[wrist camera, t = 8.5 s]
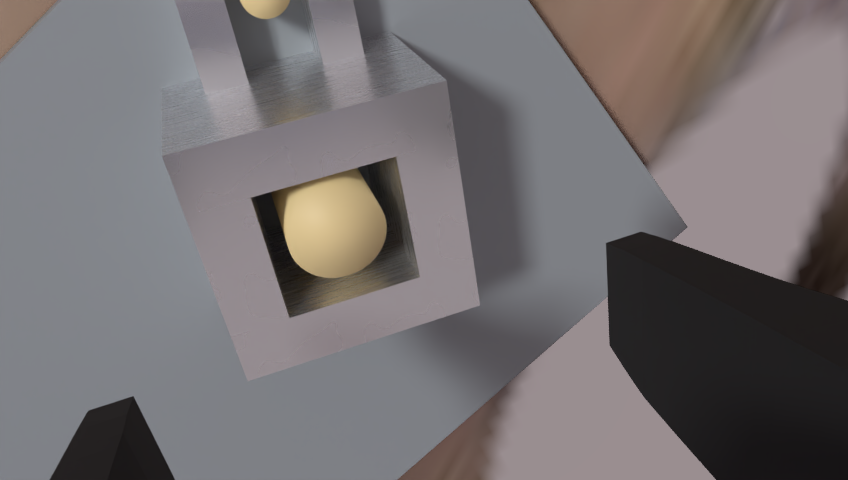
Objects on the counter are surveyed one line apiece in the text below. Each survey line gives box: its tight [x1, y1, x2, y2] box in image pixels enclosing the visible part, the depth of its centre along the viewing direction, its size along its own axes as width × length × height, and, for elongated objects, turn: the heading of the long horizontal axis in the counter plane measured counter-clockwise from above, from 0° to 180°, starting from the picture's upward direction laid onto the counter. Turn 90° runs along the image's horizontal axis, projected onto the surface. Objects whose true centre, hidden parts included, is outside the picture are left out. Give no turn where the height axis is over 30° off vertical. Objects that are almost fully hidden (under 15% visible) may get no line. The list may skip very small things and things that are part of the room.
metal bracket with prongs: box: [161, 0, 480, 381], centre depth 15 cm, size 8×5×4 cm, turn 9°
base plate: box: [0, 0, 687, 480], centre depth 18 cm, size 20×16×5 cm
